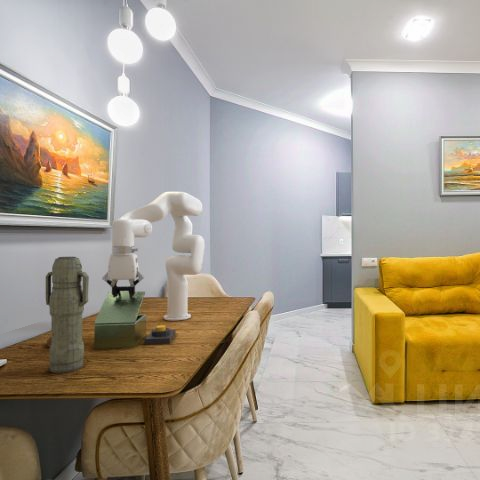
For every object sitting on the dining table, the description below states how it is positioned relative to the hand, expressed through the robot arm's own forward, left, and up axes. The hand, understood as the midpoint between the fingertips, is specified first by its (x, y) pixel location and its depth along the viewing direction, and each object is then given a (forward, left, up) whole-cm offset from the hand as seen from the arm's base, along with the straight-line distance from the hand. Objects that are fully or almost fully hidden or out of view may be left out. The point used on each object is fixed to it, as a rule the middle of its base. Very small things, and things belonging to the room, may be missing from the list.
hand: (123, 296), depth 138 cm
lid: (+2, 0, -4) cm, 5 cm away
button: (0, +14, -14) cm, 20 cm away
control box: (0, +14, -18) cm, 23 cm away
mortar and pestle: (+1, -22, -18) cm, 28 cm away
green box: (+1, 0, -18) cm, 18 cm away
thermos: (+26, -8, -18) cm, 33 cm away
